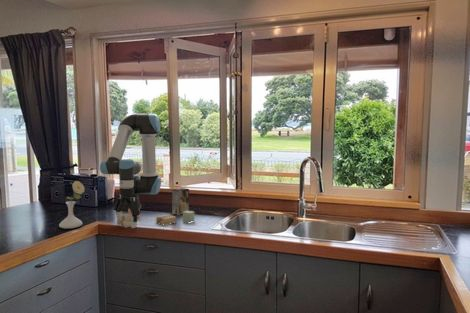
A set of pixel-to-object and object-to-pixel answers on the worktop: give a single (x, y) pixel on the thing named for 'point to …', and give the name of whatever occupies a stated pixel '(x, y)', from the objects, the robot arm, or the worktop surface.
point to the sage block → (188, 216)
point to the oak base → (165, 219)
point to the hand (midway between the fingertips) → (126, 225)
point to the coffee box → (180, 201)
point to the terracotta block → (131, 213)
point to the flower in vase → (71, 219)
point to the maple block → (126, 220)
